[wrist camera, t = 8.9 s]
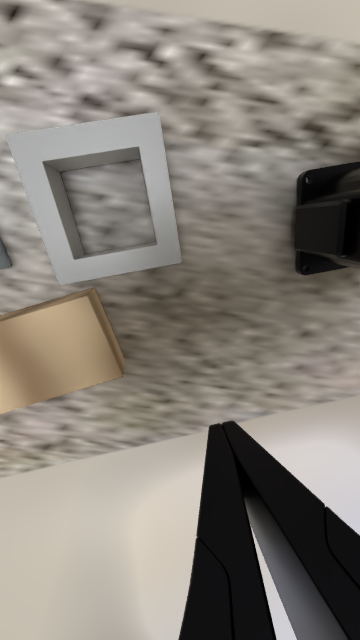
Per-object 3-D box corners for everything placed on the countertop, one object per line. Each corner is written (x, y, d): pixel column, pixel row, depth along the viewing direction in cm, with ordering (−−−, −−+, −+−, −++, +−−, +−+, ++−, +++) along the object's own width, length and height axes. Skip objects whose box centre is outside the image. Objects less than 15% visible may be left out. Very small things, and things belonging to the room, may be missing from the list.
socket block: (156, 130, 14) (158, 111, 11) (177, 257, 16) (182, 262, 14) (29, 150, 13) (5, 134, 11) (72, 276, 16) (59, 285, 14)
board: (95, 285, 17) (87, 295, 14) (125, 358, 19) (122, 376, 17) (-46, 328, 17) (-77, 344, 14) (1, 395, 19) (-19, 419, 17)
